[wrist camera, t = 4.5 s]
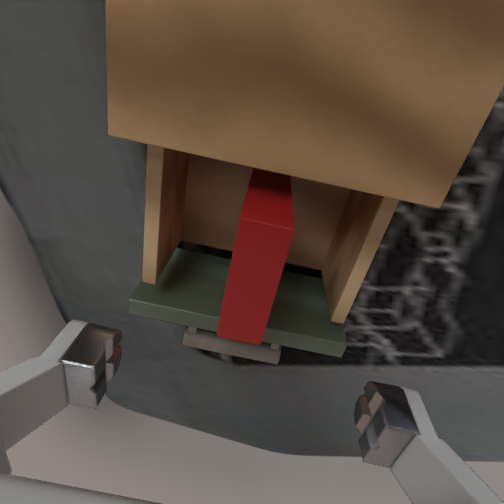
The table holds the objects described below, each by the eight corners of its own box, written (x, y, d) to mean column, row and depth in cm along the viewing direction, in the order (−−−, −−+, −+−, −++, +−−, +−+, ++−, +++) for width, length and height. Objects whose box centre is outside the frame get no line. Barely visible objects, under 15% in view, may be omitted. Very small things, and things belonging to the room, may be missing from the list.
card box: (267, 253, 24) (260, 345, 16) (237, 246, 24) (215, 336, 16) (290, 166, 21) (295, 229, 13) (255, 159, 20) (239, 217, 13)
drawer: (313, 329, 28) (321, 399, 23) (160, 298, 28) (127, 360, 22) (406, 96, 19) (461, 111, 13) (178, 44, 19) (131, 34, 13)
